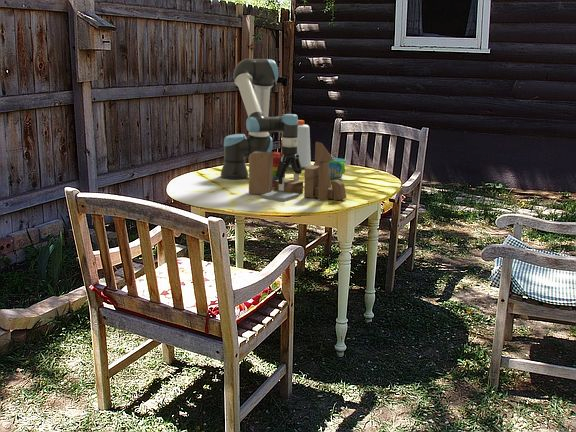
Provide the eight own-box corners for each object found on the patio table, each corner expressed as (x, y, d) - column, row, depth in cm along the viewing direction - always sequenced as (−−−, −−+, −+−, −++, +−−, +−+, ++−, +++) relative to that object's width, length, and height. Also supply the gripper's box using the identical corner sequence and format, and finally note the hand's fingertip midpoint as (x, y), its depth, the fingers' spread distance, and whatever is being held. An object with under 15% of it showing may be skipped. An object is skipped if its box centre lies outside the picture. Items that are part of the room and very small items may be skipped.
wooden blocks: (339, 204, 311) (341, 144, 305) (299, 199, 319) (301, 141, 312) (355, 194, 333) (358, 138, 326) (317, 190, 341) (319, 135, 334)
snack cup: (350, 179, 373) (350, 161, 371) (333, 180, 369) (333, 162, 367) (337, 174, 387) (338, 156, 385) (320, 175, 383) (321, 157, 381)
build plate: (261, 197, 321) (261, 194, 321) (276, 193, 332) (276, 190, 331) (284, 201, 314) (284, 198, 314) (298, 196, 325) (298, 193, 325)
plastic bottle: (311, 168, 404) (312, 122, 398) (286, 167, 404) (287, 121, 397) (309, 164, 419) (311, 119, 412) (285, 163, 419) (286, 118, 412)
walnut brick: (274, 192, 335) (274, 180, 334) (284, 190, 341) (284, 178, 340) (292, 195, 328) (293, 183, 326) (302, 193, 334) (303, 181, 332)
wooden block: (268, 195, 326) (268, 155, 321) (248, 194, 328) (248, 153, 323) (272, 191, 335) (273, 152, 330) (253, 190, 337) (253, 151, 332)
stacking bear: (289, 185, 353) (290, 151, 349) (282, 188, 344) (283, 154, 339) (270, 183, 356) (270, 150, 352) (263, 186, 347) (263, 152, 343)
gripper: (282, 149, 317) (281, 193, 322) (309, 144, 337) (308, 185, 342) (269, 147, 321) (268, 191, 325) (296, 142, 341) (295, 183, 346)
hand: (288, 188), depth 334 cm, fingers open, 13 cm apart
